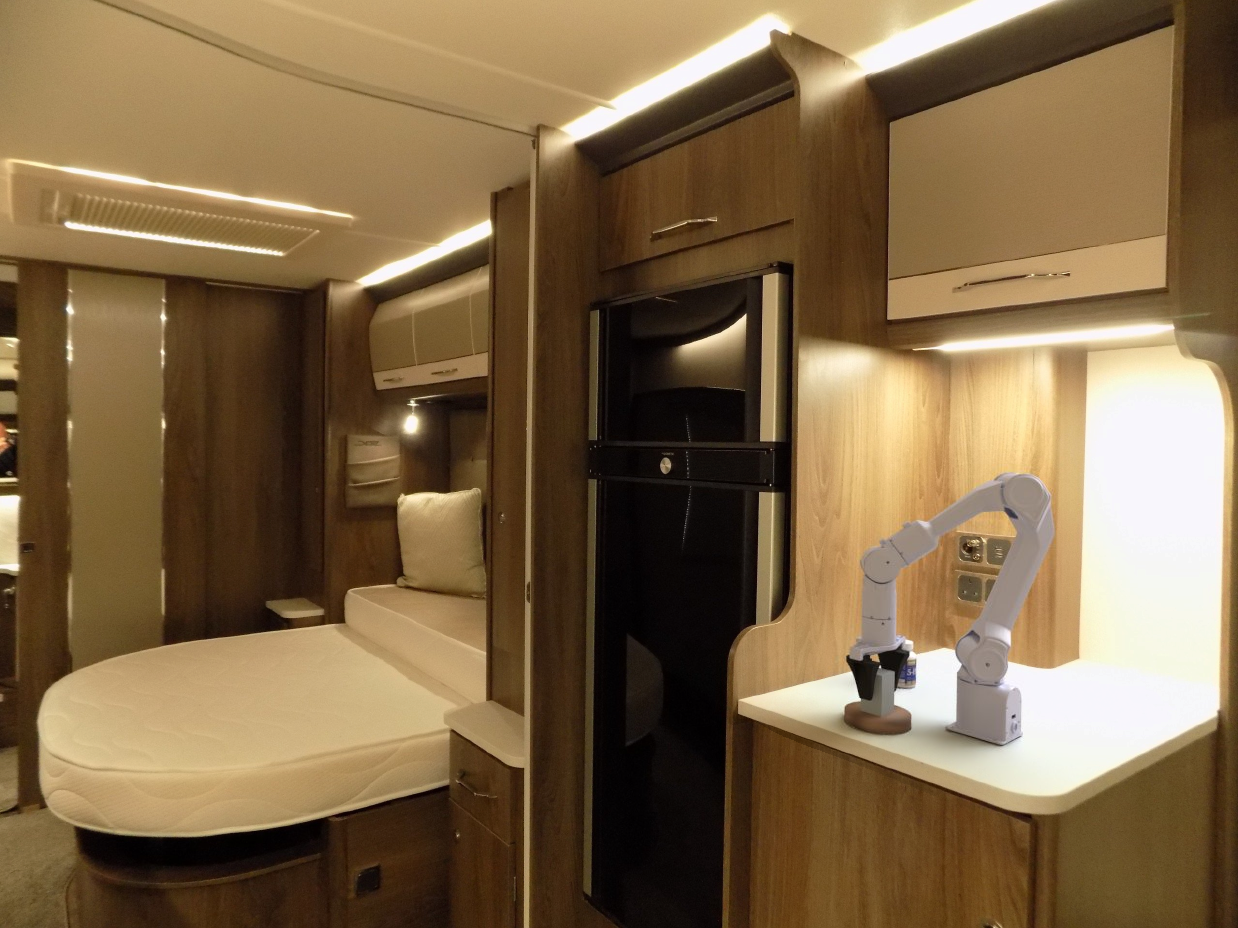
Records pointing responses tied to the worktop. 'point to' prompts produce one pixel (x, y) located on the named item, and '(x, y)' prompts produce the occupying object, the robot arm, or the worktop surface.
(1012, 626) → the robot arm
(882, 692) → the block
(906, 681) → the pill bottle
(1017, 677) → the worktop surface
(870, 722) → the plinth
